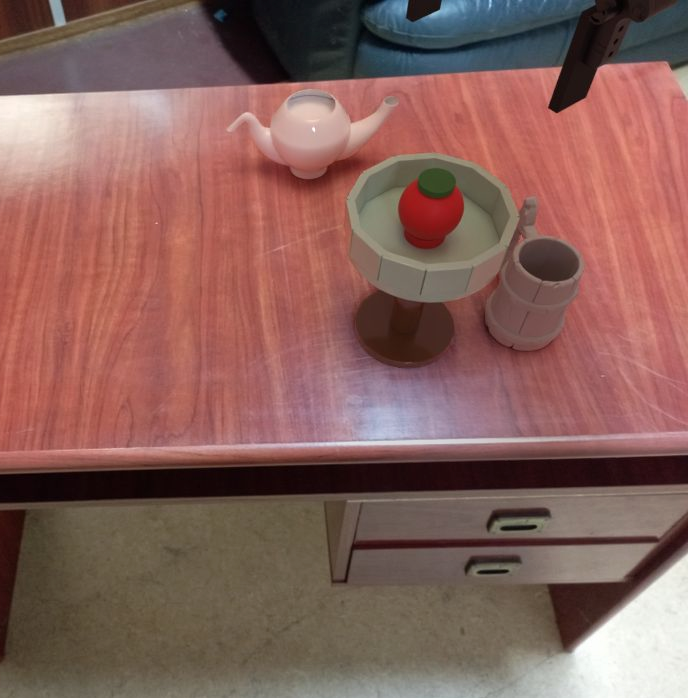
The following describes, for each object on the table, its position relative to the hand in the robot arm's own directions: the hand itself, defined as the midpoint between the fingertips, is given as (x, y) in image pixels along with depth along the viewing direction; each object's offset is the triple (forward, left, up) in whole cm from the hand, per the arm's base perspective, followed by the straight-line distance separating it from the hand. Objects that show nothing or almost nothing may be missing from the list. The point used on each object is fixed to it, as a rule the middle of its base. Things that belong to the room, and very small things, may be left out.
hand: (489, 55), depth 50 cm
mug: (-4, -9, -31) cm, 33 cm away
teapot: (+27, -5, -31) cm, 41 cm away
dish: (+1, +2, -31) cm, 31 cm away
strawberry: (+1, +2, -17) cm, 17 cm away
